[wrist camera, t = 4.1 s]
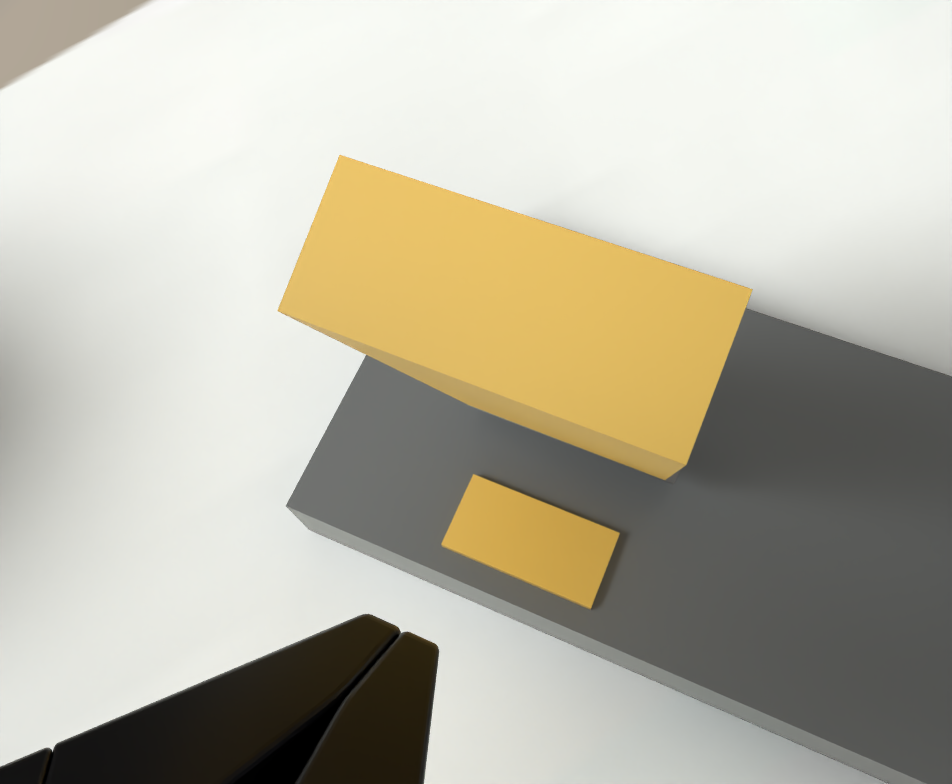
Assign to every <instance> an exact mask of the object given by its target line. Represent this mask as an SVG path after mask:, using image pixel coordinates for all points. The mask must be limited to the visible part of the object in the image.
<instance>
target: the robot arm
mask: <svg viewBox="0 0 952 784" xmlns="http://www.w3.org/2000/svg"><path fill="white" fill-rule="evenodd" d="M438 657H439V649H438V646H437V645H436V644H435V643H432V642H430V641H428V640H426V639H424V638H421V637H419V636H417V635H415V634H413V633H410V632H403V633H401V632H400V630H399V628H398V627H397V626H395V625H393V624H391V623H388V622H386V621H384V620H382V619H380V618H377V617H375V616H373V615H370V614H363V615H360V616H357V617H355V618H353V619H350V620H348V621H346V622H343V623H341V624H339V625H336V626H334V627H331V628H329V629H327V630H324V631H322V632H320V633H317V634H315V635H312V636H310V637H308V638H305V639H303V640H301V641H298V642H296V643H294V644H291V645H289V646H286V647H284V648H282V649H279V650H277V651H275V652H272V653H270V654H267V655H265V656H263V657H260V658H258V659H256V660H253V661H251V662H248V663H246V664H244V665H241V666H239V667H237V668H234V669H232V670H230V671H227V672H225V673H222V674H220V675H218V676H215V677H213V678H211V679H208V680H206V681H203V682H201V683H199V684H196V685H194V686H192V687H189V688H187V689H185V690H182V691H180V692H177V693H175V694H173V695H170V696H168V697H166V698H163V699H161V700H158V701H156V702H154V703H151V704H149V705H147V706H144V707H142V708H140V709H137V710H135V711H132V712H130V713H128V714H125V715H123V716H121V717H118V718H116V719H113V720H111V721H109V722H106V723H104V724H102V725H99V726H97V727H94V728H92V729H90V730H87V731H85V732H83V733H80V734H78V735H76V736H73V737H71V738H68V739H66V740H64V741H61V742H59V743H57V744H56V745H55V747H54V749H53V752H52V750H51V749H50V748H44V749H42V750H39V751H37V752H34V753H32V754H30V755H27V756H25V757H23V758H20V759H18V760H15V761H13V762H11V763H8V764H6V765H3V766H1V767H0V784H424V778H425V769H426V761H427V752H428V743H429V735H430V726H431V717H432V709H433V700H434V691H435V683H436V674H437V666H438Z"/></svg>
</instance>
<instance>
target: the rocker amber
mask: <svg viewBox="0 0 952 784" xmlns="http://www.w3.org/2000/svg"><path fill="white" fill-rule="evenodd" d="M752 290H753V289H750V288H747V287H744V286H741V285H738V284H735V283H732V282H728V281H725V280H722V279H719V278H716V277H713V276H710V275H707V274H704V273H701V272H698V271H695V270H692V269H689V268H685V267H682V266H679V265H676V264H673V263H670V262H667V261H664V260H661V259H658V258H655V257H652V256H649V255H646V254H642V253H639V252H636V251H633V250H630V249H627V248H624V247H621V246H618V245H615V244H612V243H609V242H606V241H603V240H599V239H596V238H593V237H590V236H587V235H584V234H581V233H578V232H575V231H572V230H569V229H566V228H563V227H560V226H557V225H553V224H550V223H547V222H544V221H541V220H538V219H535V218H532V217H529V216H526V215H523V214H520V213H517V212H514V211H510V210H507V209H504V208H501V207H498V206H495V205H492V204H489V203H486V202H483V201H480V200H477V199H474V198H471V197H467V196H464V195H461V194H458V193H455V192H452V191H449V190H446V189H443V188H440V187H437V186H434V185H431V184H428V183H424V182H421V181H418V180H415V179H412V178H409V177H406V176H403V175H400V174H397V173H394V172H391V171H388V170H385V169H382V168H378V167H375V166H372V165H369V164H366V163H363V162H360V161H357V160H354V159H351V158H348V157H345V156H342V155H339V158H338V160H337V163H336V165H335V168H334V170H333V173H332V175H331V178H330V180H329V183H328V185H327V188H326V190H325V193H324V195H323V198H322V200H321V203H320V206H319V208H318V211H317V213H316V216H315V218H314V221H313V223H312V226H311V228H310V231H309V233H308V236H307V238H306V241H305V243H304V246H303V248H302V251H301V253H300V256H299V258H298V261H297V263H296V266H295V268H294V271H293V273H292V276H291V278H290V281H289V283H288V286H287V288H286V291H285V293H284V296H283V298H282V301H281V303H280V306H279V308H278V311H279V312H281V313H283V314H285V315H287V316H289V317H291V318H293V319H295V320H297V321H299V322H301V323H303V324H305V325H307V326H309V327H311V328H313V329H315V330H317V331H319V332H321V333H323V334H325V335H327V336H329V337H331V338H333V339H335V340H337V341H339V342H342V343H344V344H346V345H348V346H350V347H352V348H354V349H356V350H358V351H360V352H362V353H364V354H366V355H368V356H370V357H372V358H374V359H376V360H378V361H380V362H382V363H384V364H386V365H388V366H390V367H392V368H394V369H396V370H398V371H400V372H402V373H404V374H407V375H409V376H411V377H413V378H415V379H417V380H419V381H421V382H423V383H425V384H427V385H429V386H431V387H433V388H435V389H437V390H439V391H441V392H443V393H445V394H447V395H449V396H451V397H453V398H455V399H457V400H459V401H461V402H463V403H465V404H466V405H468V406H470V407H473V408H475V409H478V410H481V411H483V412H486V413H488V414H491V415H494V416H496V417H499V418H502V419H504V420H507V421H509V422H512V423H515V424H517V425H520V426H522V427H525V428H528V429H530V430H533V431H535V432H538V433H541V434H543V435H546V436H548V437H551V438H554V439H556V440H559V441H561V442H564V443H567V444H569V445H572V446H574V447H577V448H580V449H582V450H585V451H588V452H590V453H593V454H595V455H598V456H601V457H603V458H606V459H608V460H611V461H614V462H616V463H619V464H621V465H624V466H627V467H629V468H632V469H634V470H637V471H640V472H642V473H645V474H647V475H650V476H653V477H655V478H658V479H660V480H663V481H666V482H668V483H671V484H673V485H674V483H675V481H676V479H677V477H678V474H679V472H680V469H682V468H683V467H684V466H686V464H687V462H688V459H689V456H690V454H691V451H692V449H693V446H694V443H695V441H696V438H697V435H698V433H699V430H700V427H701V425H702V422H703V419H704V417H705V414H706V411H707V409H708V406H709V404H710V401H711V398H712V396H713V393H714V390H715V388H716V385H717V382H718V380H719V377H720V374H721V372H722V369H723V366H724V364H725V361H726V359H727V356H728V353H729V351H730V348H731V345H732V343H733V340H734V337H735V335H736V332H737V329H738V327H739V324H740V321H741V319H742V316H743V314H744V311H745V308H746V306H747V303H748V300H749V298H750V295H751V292H752Z"/></svg>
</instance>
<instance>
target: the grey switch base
mask: <svg viewBox="0 0 952 784" xmlns="http://www.w3.org/2000/svg"><path fill="white" fill-rule="evenodd" d="M286 507H287V508H288V509H289V510H290V511H291V512H292V513H293V514H294V515H295V516H296V517H297V518H298V519H299V520H300V521H301V522H302V523H303V524H304V525H305V526H306V527H307V528H308V529H309V530H311V531H313V532H315V533H318V534H320V535H322V536H325V537H327V538H329V539H331V540H334V541H336V542H338V543H341V544H343V545H345V546H347V547H350V548H352V549H354V550H357V551H359V552H361V553H363V554H366V555H368V556H370V557H373V558H375V559H377V560H379V561H382V562H384V563H386V564H389V565H391V566H393V567H395V568H398V569H400V570H402V571H405V572H407V573H409V574H411V575H414V576H416V577H418V578H421V579H423V580H425V581H427V582H430V583H432V584H434V585H437V586H439V587H441V588H443V589H446V590H448V591H450V592H453V593H455V594H457V595H459V596H462V597H464V598H466V599H469V600H471V601H473V602H475V603H478V604H480V605H482V606H485V607H487V608H489V609H491V610H494V611H496V612H498V613H501V614H503V615H505V616H507V617H510V618H512V619H514V620H517V621H519V622H521V623H523V624H526V625H528V626H530V627H533V628H535V629H537V630H539V631H542V632H544V633H546V634H549V635H551V636H553V637H555V638H558V639H560V640H562V641H565V642H567V643H569V644H571V645H574V646H576V647H578V648H581V649H583V650H585V651H587V652H590V653H592V654H594V655H597V656H599V657H601V658H603V659H606V660H608V661H610V662H613V663H615V664H617V665H619V666H622V667H624V668H626V669H629V670H631V671H633V672H635V673H638V674H640V675H642V676H645V677H647V678H649V679H651V680H654V681H656V682H658V683H661V684H663V685H665V686H667V687H670V688H672V689H674V690H677V691H679V692H681V693H683V694H686V695H688V696H690V697H693V698H695V699H697V700H699V701H702V702H704V703H706V704H709V705H711V706H713V707H715V708H718V709H720V710H722V711H725V712H727V713H729V714H731V715H734V716H736V717H738V718H741V719H743V720H745V721H747V722H750V723H752V724H754V725H757V726H759V727H761V728H763V729H766V730H768V731H770V732H773V733H775V734H777V735H780V736H782V737H784V738H786V739H789V740H791V741H793V742H796V743H798V744H800V745H802V746H805V747H807V748H809V749H812V750H814V751H816V752H818V753H821V754H823V755H825V756H828V757H830V758H832V759H834V760H837V761H839V762H841V763H844V764H846V765H848V766H850V767H853V768H855V769H857V770H860V771H862V772H864V773H866V774H869V775H871V776H873V777H876V778H878V779H880V780H882V781H885V782H887V783H889V784H952V376H949V375H945V374H942V373H939V372H936V371H933V370H930V369H927V368H924V367H921V366H918V365H915V364H912V363H909V362H906V361H903V360H900V359H897V358H894V357H891V356H888V355H885V354H882V353H879V352H876V351H873V350H870V349H867V348H864V347H861V346H858V345H855V344H852V343H849V342H846V341H843V340H840V339H837V338H834V337H831V336H828V335H825V334H822V333H819V332H816V331H813V330H810V329H807V328H804V327H801V326H798V325H795V324H792V323H788V322H785V321H782V320H779V319H776V318H773V317H770V316H767V315H764V314H761V313H758V312H755V311H752V310H749V309H746V308H745V311H744V314H743V316H742V319H741V321H740V324H739V327H738V329H737V332H736V335H735V337H734V340H733V343H732V345H731V348H730V351H729V353H728V356H727V359H726V361H725V364H724V366H723V369H722V372H721V374H720V377H719V380H718V382H717V385H716V388H715V390H714V393H713V396H712V398H711V401H710V404H709V406H708V409H707V411H706V414H705V417H704V419H703V422H702V425H701V427H700V430H699V433H698V435H697V438H696V441H695V443H694V446H693V449H692V451H691V454H690V456H689V459H688V462H687V464H686V466H684V467H683V468H682V469H680V472H679V474H678V477H677V479H676V481H675V483H674V485H673V484H671V483H668V482H666V481H663V480H660V479H658V478H655V477H653V476H650V475H647V474H645V473H642V472H640V471H637V470H634V469H632V468H629V467H627V466H624V465H621V464H619V463H616V462H614V461H611V460H608V459H606V458H603V457H601V456H598V455H595V454H593V453H590V452H588V451H585V450H582V449H580V448H577V447H574V446H572V445H569V444H567V443H564V442H561V441H559V440H556V439H554V438H551V437H548V436H546V435H543V434H541V433H538V432H535V431H533V430H530V429H528V428H525V427H522V426H520V425H517V424H515V423H512V422H509V421H507V420H504V419H502V418H499V417H496V416H494V415H491V414H488V413H486V412H483V411H481V410H478V409H475V408H473V407H470V406H468V405H466V404H465V403H463V402H461V401H459V400H457V399H455V398H453V397H451V396H449V395H447V394H445V393H443V392H441V391H439V390H437V389H435V388H433V387H431V386H429V385H427V384H425V383H423V382H421V381H419V380H417V379H415V378H413V377H411V376H409V375H407V374H404V373H402V372H400V371H398V370H396V369H394V368H392V367H390V366H388V365H386V364H384V363H382V362H380V361H378V360H376V359H374V358H372V357H370V356H368V355H366V356H365V358H364V360H363V362H362V364H361V366H360V368H359V370H358V372H357V373H356V375H355V377H354V379H353V381H352V383H351V385H350V387H349V388H348V390H347V392H346V394H345V396H344V398H343V400H342V402H341V403H340V405H339V407H338V409H337V411H336V413H335V415H334V417H333V418H332V420H331V422H330V424H329V426H328V428H327V430H326V432H325V433H324V435H323V437H322V439H321V441H320V443H319V445H318V447H317V448H316V450H315V452H314V454H313V456H312V458H311V460H310V462H309V463H308V465H307V467H306V469H305V471H304V473H303V475H302V477H301V478H300V480H299V482H298V484H297V486H296V488H295V490H294V492H293V493H292V495H291V497H290V499H289V501H288V503H287V505H286Z"/></svg>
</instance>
